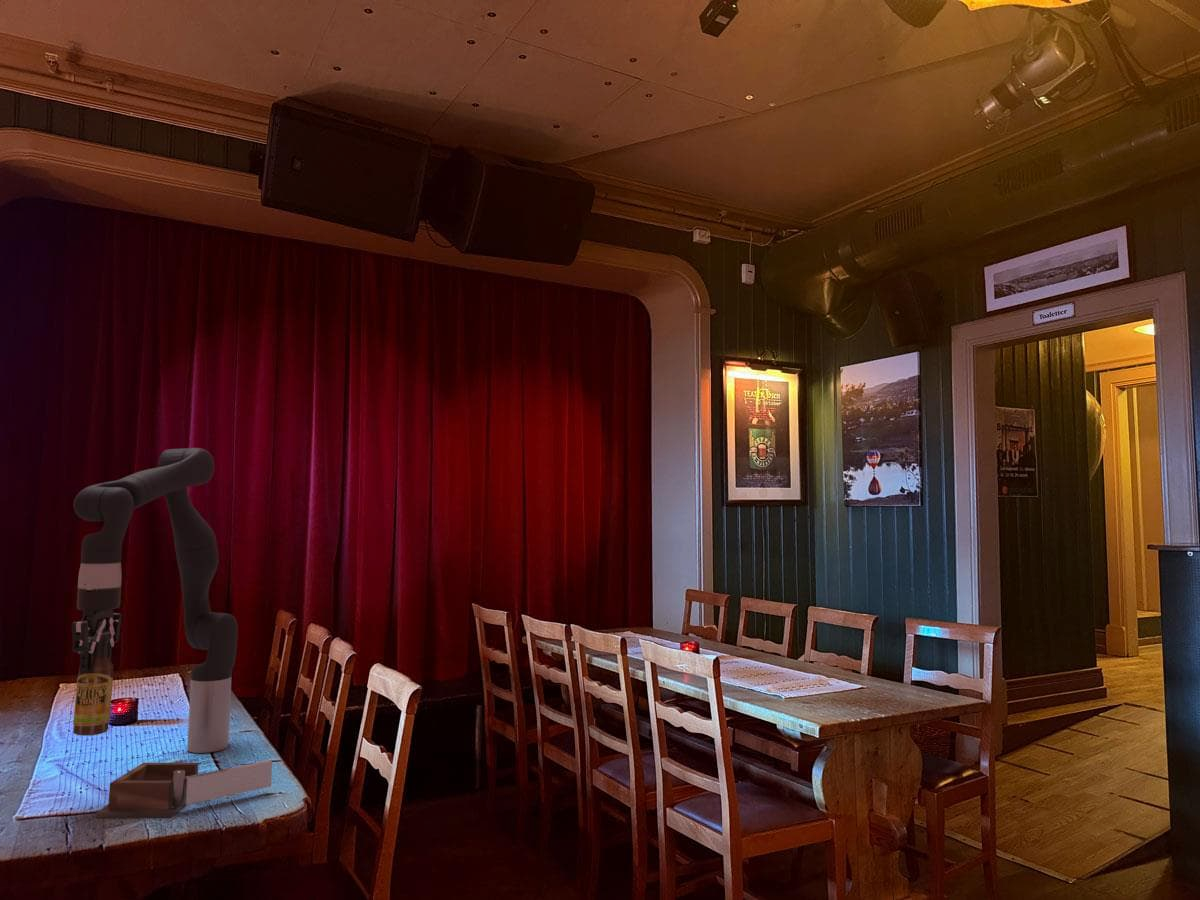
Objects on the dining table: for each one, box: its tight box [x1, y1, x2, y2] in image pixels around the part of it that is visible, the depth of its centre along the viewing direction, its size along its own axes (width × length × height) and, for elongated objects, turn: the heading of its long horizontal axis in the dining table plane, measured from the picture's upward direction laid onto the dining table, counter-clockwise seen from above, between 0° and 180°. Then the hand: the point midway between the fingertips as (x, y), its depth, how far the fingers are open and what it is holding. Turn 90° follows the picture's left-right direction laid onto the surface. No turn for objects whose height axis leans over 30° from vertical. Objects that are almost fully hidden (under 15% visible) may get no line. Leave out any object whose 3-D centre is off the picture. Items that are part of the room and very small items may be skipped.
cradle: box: [95, 762, 199, 819], centre depth 166 cm, size 16×14×6 cm
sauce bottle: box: [72, 632, 114, 737], centre depth 165 cm, size 6×6×20 cm
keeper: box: [172, 759, 273, 807], centre depth 167 cm, size 19×2×6 cm, turn 133°
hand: (95, 668), depth 165 cm, fingers closed on sauce bottle, 6 cm apart
